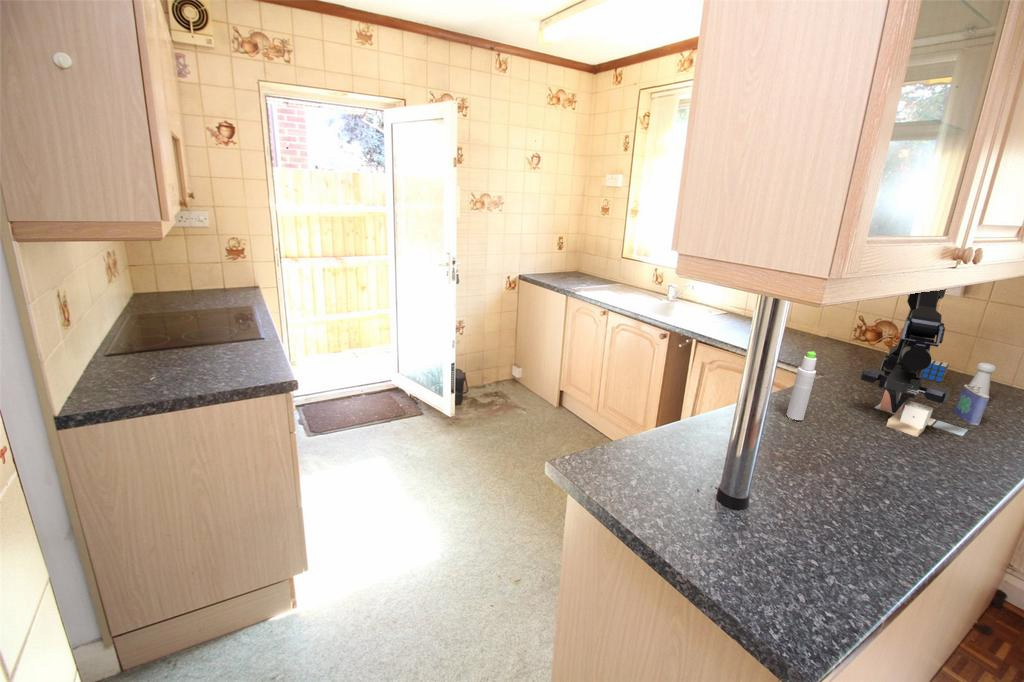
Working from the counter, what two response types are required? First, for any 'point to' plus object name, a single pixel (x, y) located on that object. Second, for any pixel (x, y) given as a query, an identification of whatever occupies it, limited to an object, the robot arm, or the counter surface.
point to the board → (938, 424)
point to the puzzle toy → (935, 371)
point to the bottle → (802, 387)
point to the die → (916, 414)
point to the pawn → (888, 402)
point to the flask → (971, 404)
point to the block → (903, 426)
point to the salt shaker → (983, 377)
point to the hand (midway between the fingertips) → (894, 412)
